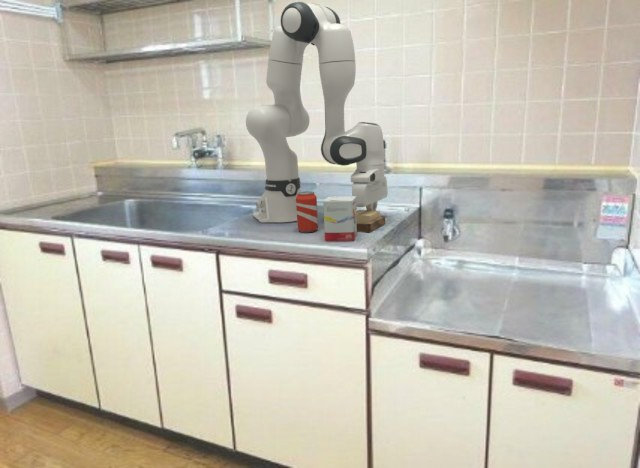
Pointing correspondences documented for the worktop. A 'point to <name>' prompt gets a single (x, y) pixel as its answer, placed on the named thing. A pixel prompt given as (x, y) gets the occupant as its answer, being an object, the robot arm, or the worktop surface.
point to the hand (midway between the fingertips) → (371, 215)
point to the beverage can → (307, 211)
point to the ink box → (340, 218)
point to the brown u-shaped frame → (371, 225)
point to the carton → (367, 215)
